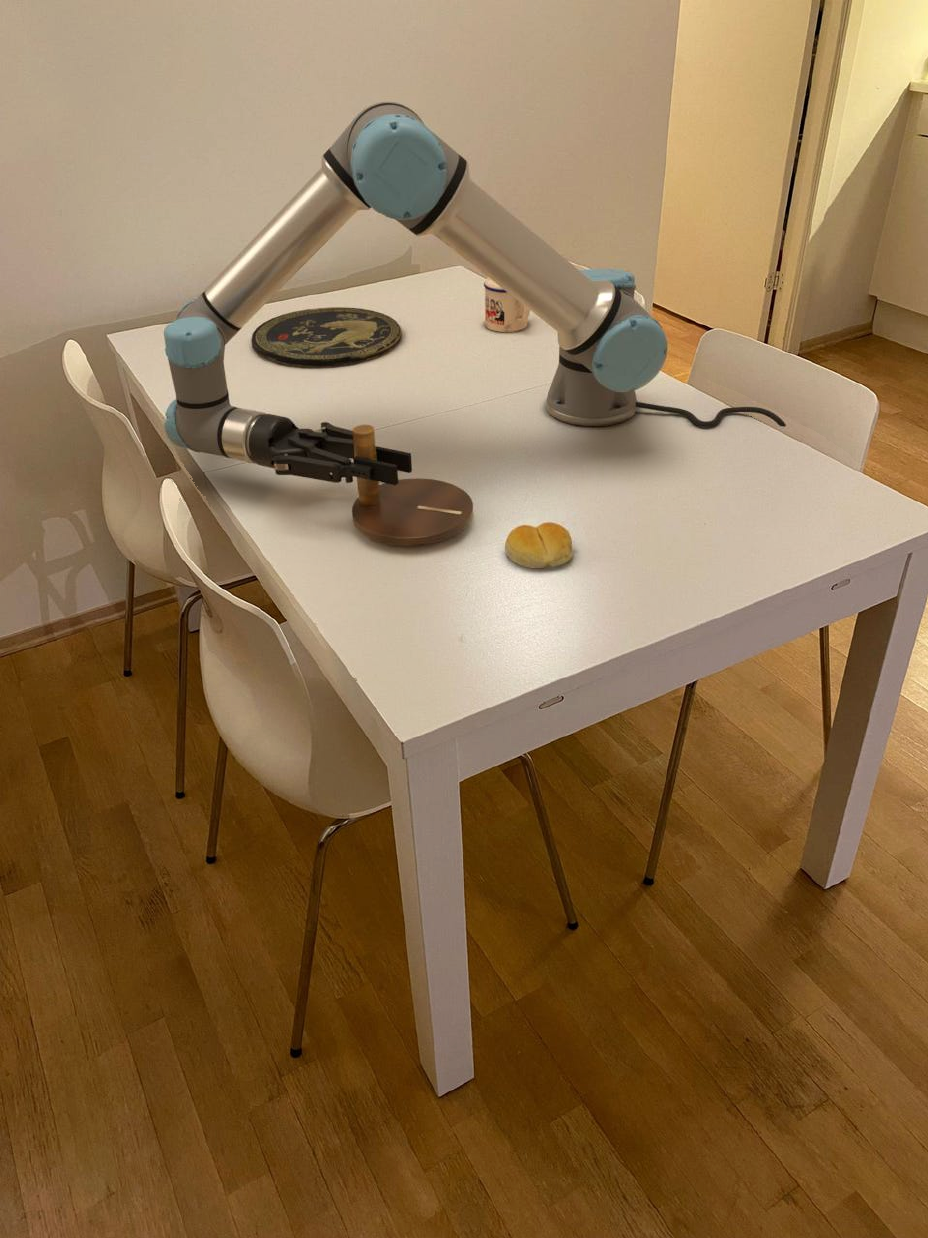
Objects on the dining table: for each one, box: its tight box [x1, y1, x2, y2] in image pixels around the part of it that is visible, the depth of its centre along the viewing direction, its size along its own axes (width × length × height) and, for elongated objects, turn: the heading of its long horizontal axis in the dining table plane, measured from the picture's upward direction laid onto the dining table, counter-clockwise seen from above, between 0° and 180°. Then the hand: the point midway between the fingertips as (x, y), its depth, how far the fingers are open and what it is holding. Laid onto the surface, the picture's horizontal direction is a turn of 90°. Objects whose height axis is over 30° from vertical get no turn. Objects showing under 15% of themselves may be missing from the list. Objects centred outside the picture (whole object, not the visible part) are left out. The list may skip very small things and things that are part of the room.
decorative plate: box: [251, 306, 403, 368], centre depth 202 cm, size 30×2×30 cm
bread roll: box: [504, 521, 575, 569], centre depth 134 cm, size 8×9×4 cm
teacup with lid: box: [483, 277, 531, 333], centre depth 202 cm, size 12×9×12 cm
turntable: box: [351, 424, 474, 546], centre depth 138 cm, size 17×17×12 cm
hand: (403, 469), depth 137 cm, fingers closed on turntable, 3 cm apart
